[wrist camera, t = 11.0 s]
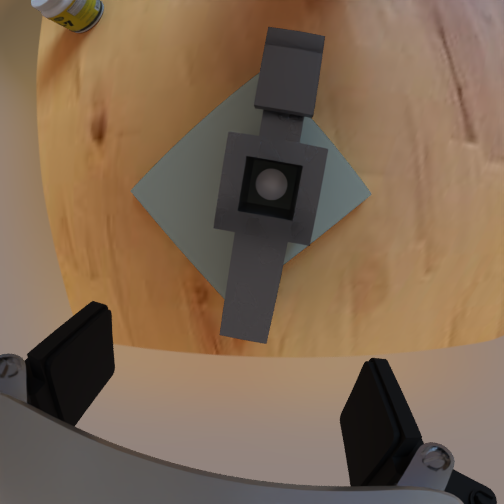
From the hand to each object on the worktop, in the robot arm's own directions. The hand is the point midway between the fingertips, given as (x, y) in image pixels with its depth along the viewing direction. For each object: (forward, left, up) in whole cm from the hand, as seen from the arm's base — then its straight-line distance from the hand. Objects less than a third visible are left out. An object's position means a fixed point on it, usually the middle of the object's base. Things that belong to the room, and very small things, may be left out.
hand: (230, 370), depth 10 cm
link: (-3, -2, -17) cm, 17 cm away
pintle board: (-5, -5, -18) cm, 19 cm away
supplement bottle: (-2, -33, -18) cm, 38 cm away
